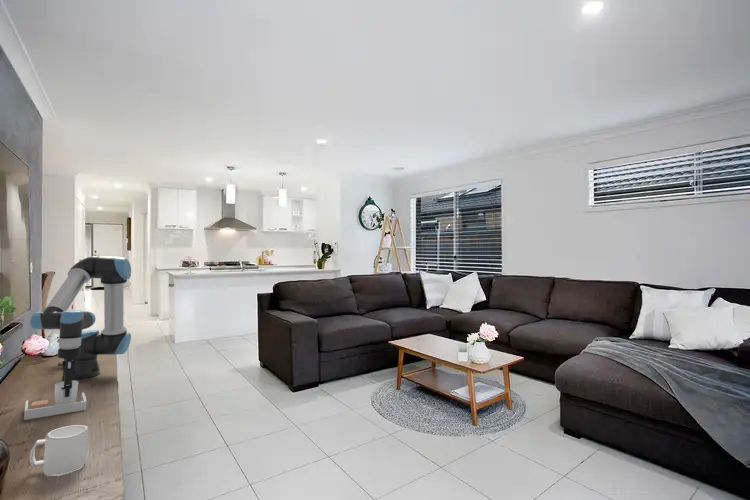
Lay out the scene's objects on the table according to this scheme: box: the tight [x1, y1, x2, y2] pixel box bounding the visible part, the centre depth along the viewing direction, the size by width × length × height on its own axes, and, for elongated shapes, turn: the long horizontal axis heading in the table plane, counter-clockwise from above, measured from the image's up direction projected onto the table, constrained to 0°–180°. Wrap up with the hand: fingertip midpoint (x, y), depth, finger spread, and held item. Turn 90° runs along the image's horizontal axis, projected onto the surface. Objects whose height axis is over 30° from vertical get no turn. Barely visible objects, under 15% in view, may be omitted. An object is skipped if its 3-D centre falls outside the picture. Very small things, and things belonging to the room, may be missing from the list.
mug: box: [28, 424, 89, 475], centre depth 117 cm, size 14×10×11 cm
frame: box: [23, 392, 88, 421], centre depth 160 cm, size 13×19×4 cm
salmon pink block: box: [30, 399, 50, 409], centre depth 157 cm, size 5×5×4 cm
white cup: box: [54, 380, 79, 406], centre depth 163 cm, size 8×8×10 cm
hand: (65, 400), depth 163 cm, fingers open, 10 cm apart
